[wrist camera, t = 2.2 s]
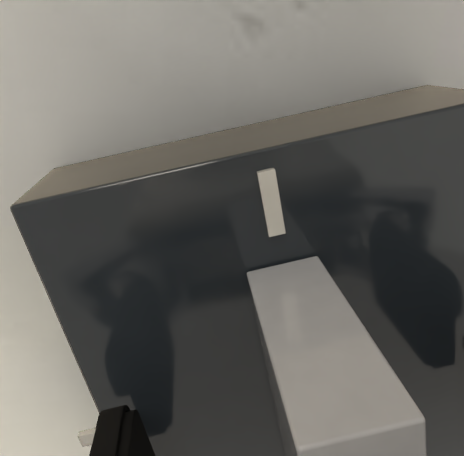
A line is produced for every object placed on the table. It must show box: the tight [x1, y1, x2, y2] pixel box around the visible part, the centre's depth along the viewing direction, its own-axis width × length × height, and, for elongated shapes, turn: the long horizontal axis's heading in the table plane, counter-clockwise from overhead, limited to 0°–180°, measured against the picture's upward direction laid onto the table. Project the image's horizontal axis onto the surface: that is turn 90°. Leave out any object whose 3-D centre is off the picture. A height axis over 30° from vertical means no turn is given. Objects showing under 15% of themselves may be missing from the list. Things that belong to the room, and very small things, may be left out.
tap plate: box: [10, 85, 464, 456], centre depth 12 cm, size 12×11×3 cm
